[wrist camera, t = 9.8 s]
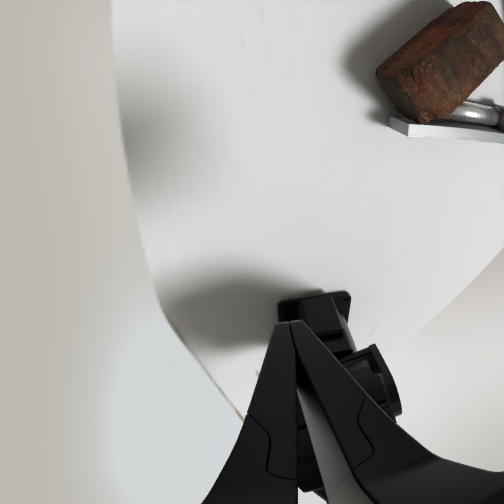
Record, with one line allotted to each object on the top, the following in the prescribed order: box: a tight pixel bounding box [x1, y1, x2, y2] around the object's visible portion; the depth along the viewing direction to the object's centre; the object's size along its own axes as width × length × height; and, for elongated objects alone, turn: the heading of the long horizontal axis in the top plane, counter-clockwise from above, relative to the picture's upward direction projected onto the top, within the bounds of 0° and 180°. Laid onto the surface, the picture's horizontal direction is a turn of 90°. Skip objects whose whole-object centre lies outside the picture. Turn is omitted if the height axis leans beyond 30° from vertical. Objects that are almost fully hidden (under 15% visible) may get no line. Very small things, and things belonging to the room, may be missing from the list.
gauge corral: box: [390, 117, 504, 144], centre depth 13 cm, size 16×15×3 cm
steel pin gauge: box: [444, 101, 504, 132], centre depth 16 cm, size 2×8×2 cm, turn 96°
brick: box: [376, 1, 504, 124], centre depth 13 cm, size 11×4×5 cm, turn 138°
